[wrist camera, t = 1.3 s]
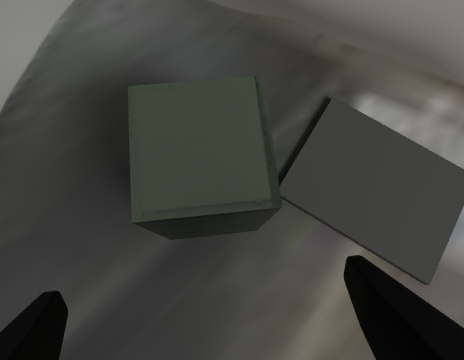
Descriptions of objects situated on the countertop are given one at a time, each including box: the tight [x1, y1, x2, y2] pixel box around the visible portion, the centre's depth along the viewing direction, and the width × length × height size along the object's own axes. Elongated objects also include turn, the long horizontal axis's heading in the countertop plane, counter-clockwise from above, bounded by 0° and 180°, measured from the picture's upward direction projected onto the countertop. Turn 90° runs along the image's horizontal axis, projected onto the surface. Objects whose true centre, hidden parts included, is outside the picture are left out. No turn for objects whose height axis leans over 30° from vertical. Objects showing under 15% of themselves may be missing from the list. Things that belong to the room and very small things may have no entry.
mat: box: [279, 97, 464, 285], centre depth 23 cm, size 12×9×1 cm
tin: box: [127, 76, 282, 240], centre depth 18 cm, size 6×6×10 cm
